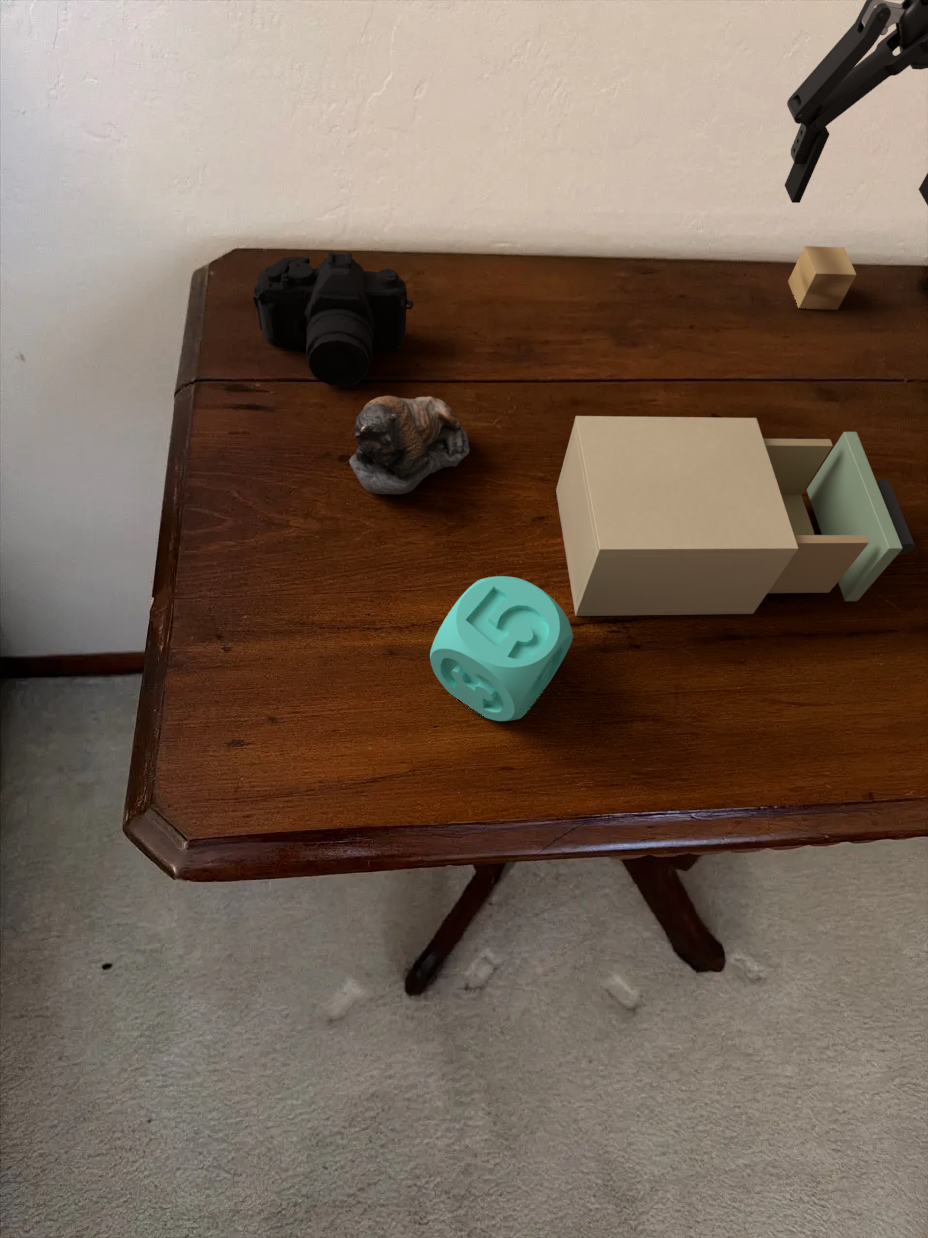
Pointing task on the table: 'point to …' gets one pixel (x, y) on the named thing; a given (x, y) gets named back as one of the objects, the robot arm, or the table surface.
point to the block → (821, 277)
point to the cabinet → (671, 516)
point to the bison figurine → (405, 442)
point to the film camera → (332, 313)
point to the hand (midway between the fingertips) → (859, 196)
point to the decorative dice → (500, 646)
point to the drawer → (836, 516)
